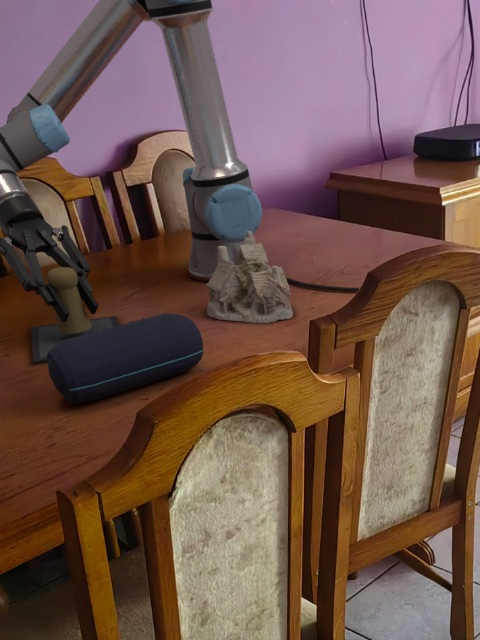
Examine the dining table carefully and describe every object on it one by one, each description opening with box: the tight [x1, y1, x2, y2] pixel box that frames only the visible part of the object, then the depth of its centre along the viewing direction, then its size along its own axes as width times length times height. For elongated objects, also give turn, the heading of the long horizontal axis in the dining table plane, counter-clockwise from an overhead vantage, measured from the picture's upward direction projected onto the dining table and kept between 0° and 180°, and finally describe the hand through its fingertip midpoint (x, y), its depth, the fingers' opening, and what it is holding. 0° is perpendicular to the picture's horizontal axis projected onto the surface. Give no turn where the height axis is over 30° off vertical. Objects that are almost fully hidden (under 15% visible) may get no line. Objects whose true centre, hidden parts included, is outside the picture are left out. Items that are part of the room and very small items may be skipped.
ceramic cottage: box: [206, 231, 294, 324], centre depth 165 cm, size 16×16×15 cm
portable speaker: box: [47, 313, 204, 405], centre depth 136 cm, size 25×10×10 cm, turn 133°
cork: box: [46, 266, 91, 334], centre depth 154 cm, size 6×6×11 cm
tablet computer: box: [30, 315, 120, 365], centre depth 158 cm, size 16×20×1 cm
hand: (80, 313), depth 153 cm, fingers closed on cork, 5 cm apart
